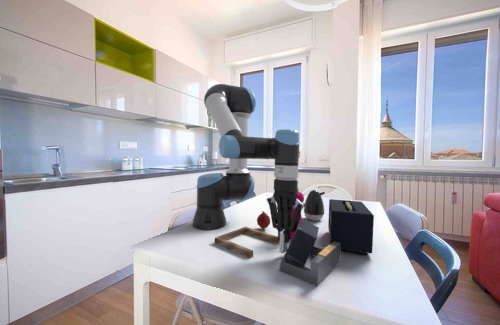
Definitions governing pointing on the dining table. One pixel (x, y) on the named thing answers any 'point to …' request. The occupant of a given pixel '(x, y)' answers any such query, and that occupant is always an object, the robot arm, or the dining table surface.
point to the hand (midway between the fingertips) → (283, 251)
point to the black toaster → (351, 225)
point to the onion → (263, 220)
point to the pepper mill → (301, 199)
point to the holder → (234, 247)
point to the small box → (302, 243)
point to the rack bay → (315, 264)
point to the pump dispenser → (314, 206)
